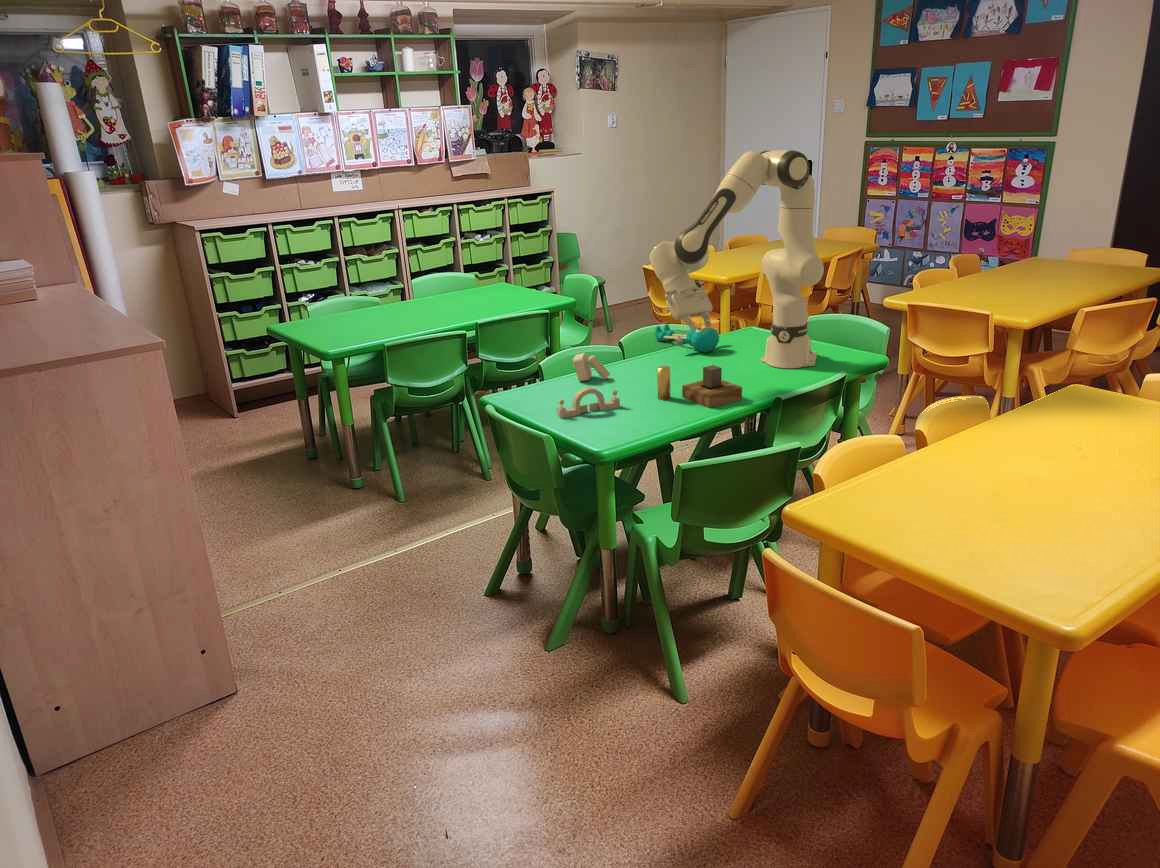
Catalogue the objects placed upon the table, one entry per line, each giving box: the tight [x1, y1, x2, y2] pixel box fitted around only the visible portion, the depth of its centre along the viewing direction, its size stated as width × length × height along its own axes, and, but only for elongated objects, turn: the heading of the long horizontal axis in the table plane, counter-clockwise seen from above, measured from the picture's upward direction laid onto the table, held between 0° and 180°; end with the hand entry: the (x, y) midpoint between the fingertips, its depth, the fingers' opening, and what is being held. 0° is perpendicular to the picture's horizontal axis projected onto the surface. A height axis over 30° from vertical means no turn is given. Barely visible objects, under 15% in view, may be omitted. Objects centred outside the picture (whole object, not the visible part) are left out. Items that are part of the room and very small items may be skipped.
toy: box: [654, 323, 720, 353], centre depth 309 cm, size 22×10×30 cm
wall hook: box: [572, 352, 611, 383], centre depth 275 cm, size 8×10×10 cm
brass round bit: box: [656, 365, 671, 401], centre depth 252 cm, size 4×4×10 cm
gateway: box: [556, 386, 621, 419], centre depth 245 cm, size 20×2×8 cm, turn 112°
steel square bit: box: [702, 364, 723, 390], centre depth 250 cm, size 4×4×10 cm
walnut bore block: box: [681, 379, 743, 409], centre depth 251 cm, size 13×13×4 cm
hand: (702, 327), depth 253 cm, fingers open, 8 cm apart
